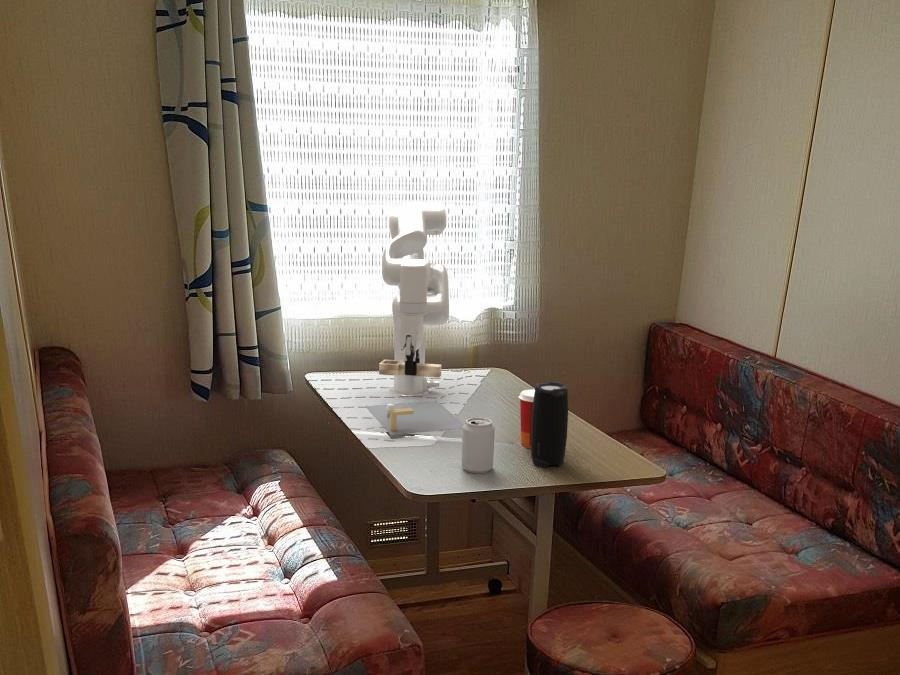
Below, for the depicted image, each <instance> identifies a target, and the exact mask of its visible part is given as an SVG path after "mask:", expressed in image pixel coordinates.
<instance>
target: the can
mask: <svg viewBox="0 0 900 675" xmlns="http://www.w3.org/2000/svg"><path fill="white" fill-rule="evenodd" d="M464 424H465V425H464V426H463V428H462V444H461V445H462V447H461V448H462V449H461V466H462V468H463V469H464V470H465V471H467V472H468V473H471V474H486V473H488V472H490V470H492V469H493V468H494V453H495V450H494V449H495V431H496V430H495V429H496V428H495V426H494V425H493V421H492V420H491V419H489V418H485V417H469V418H467V419H466V420H465V423H464Z"/></svg>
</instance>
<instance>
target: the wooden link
mask: <svg viewBox="0 0 900 675" xmlns="http://www.w3.org/2000/svg"><path fill="white" fill-rule="evenodd" d="M378 365H379V366H378V375H381V376H382V375H383V376H393V377H394V376H398V375H405V362H403V361H397V360H394V359H383V360H382V361H380V362H379V363H378ZM442 367H443V366H442V364H437V363H436V364H435V363H417V374H416V375H415V376H422V377H426V378H438V379H439V378H440V377H441V376H442ZM408 376H413V375H408Z"/></svg>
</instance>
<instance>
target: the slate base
mask: <svg viewBox="0 0 900 675" xmlns="http://www.w3.org/2000/svg"><path fill="white" fill-rule="evenodd" d="M365 408H366V409H367V410H368V412H369V413H370V414H371V415H373V417H374V418H375V419H376V420H377V421H378V422H379V423H380V425H382V427H383V428H384V429H385V430H386V431H385V433H386V435H387V436H388V437H389V439H397V437H400V438H406V437H405V436H411V437H416V436H415V435H420V434H419V433H426V432H439V431H447V430H459V429H463V426H464V425H465V424H466V423H464V422H463V421H462V420H461V419H459V418H458V417H457V416H456V415H454V414H453V413H452V412H451V411H450V410H448V409H447V408H445V406H443V405H442V404H441V403H440V402H438V400H428V401H427V400H426V401H417V402H415V401H413V402H404V403H402V402H401V403H387V404H377V405H375V404H374V405H365ZM417 433H418V434H417Z"/></svg>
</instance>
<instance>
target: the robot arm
mask: <svg viewBox="0 0 900 675" xmlns="http://www.w3.org/2000/svg"><path fill="white" fill-rule="evenodd" d="M388 222H389V224H388V225H389V226H388V227H389V231H390V236H391V241H390V242H388V244H387V245H386V247H385V248H384V250H383V252H382V253H383V254H382V264H381V275H382V279H383V282H384V283H385V284H387V285H389V286H397V287H398V289H399V294H398V295H397V296H395V297H394V299H393V300H392V306H391V309H392V310H391V311H392V317H393V318H392V319H393V327H394V329H393V330H394V355H393V356H394V358H393V360H397V361H403V362H405V375H398V376H394V375H393V377H394V378H393V382H394V383H393V386H392V387H390V388H389V389H388V391H389V393H390V394H392V395H395V396H402V397H418V396H425V395H427V394H430V388H438V387H440V381H439V380H433V379H426V378H425V377H422V376H415V375H416V374H417V363H425V362H426V338H425V335H424V331H425V330H424V329H425V328H424V327H425V326H428V325H429V326H442V325H445V324H446V323H447V322H448V320H449V319H450V318H449V316H450V296H449V293H450V292H449V274H448V270H447V268H446V266H445V265H443V264H441V263H436V262H434V263H433V262H430V261H429V260H427V259H425V251H424V248H425V247H426V244H427V241H428V236H438V235H441V234H442V233H443V232H444V230H445V228H446V226H447V213H446V208H445V207H444V206H443V205H442V204H441V203H437V202H406V203H405V204H403V205H402V206H400V207H398V208H395V209H393V210H391V212H390V213H389V217H388ZM425 364H426V363H425ZM408 375H413V376H408Z"/></svg>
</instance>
